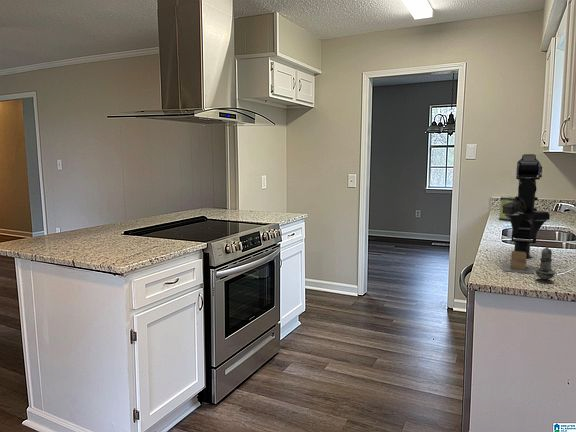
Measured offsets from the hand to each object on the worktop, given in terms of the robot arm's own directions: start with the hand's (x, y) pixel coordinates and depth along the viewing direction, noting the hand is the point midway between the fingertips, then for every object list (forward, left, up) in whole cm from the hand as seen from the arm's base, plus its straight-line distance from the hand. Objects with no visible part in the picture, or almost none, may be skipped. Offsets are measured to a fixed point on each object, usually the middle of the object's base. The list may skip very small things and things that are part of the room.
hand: (523, 235), depth 168 cm
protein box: (-139, +5, -12) cm, 139 cm away
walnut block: (+8, -2, -11) cm, 14 cm away
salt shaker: (+22, +5, -12) cm, 26 cm away
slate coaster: (+8, -2, -12) cm, 14 cm away
